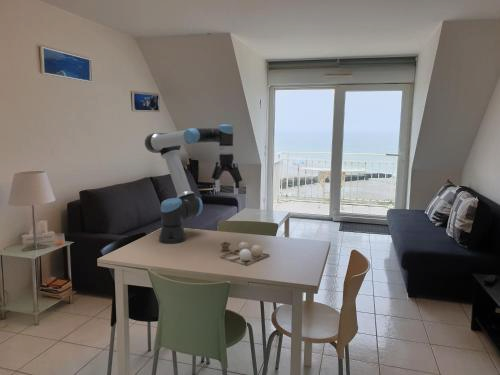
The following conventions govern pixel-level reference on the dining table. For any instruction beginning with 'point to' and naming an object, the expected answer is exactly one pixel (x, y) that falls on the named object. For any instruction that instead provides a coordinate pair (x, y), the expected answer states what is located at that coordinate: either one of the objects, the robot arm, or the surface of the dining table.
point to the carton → (235, 258)
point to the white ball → (245, 255)
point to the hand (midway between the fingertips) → (226, 192)
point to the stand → (225, 247)
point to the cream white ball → (256, 250)
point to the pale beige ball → (243, 246)
